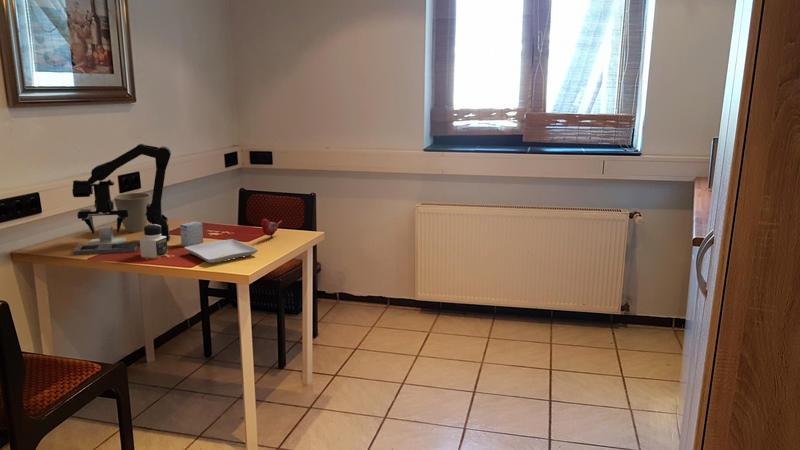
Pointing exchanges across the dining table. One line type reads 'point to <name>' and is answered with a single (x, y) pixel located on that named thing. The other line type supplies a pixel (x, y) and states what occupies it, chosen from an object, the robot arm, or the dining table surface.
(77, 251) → the grey flat frame
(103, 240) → the steel peg
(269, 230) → the decorative bird figurine
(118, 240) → the sage mat
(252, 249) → the salad plate
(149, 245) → the medicine bottle
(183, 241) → the medicine box
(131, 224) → the plant pot
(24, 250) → the dining table surface
